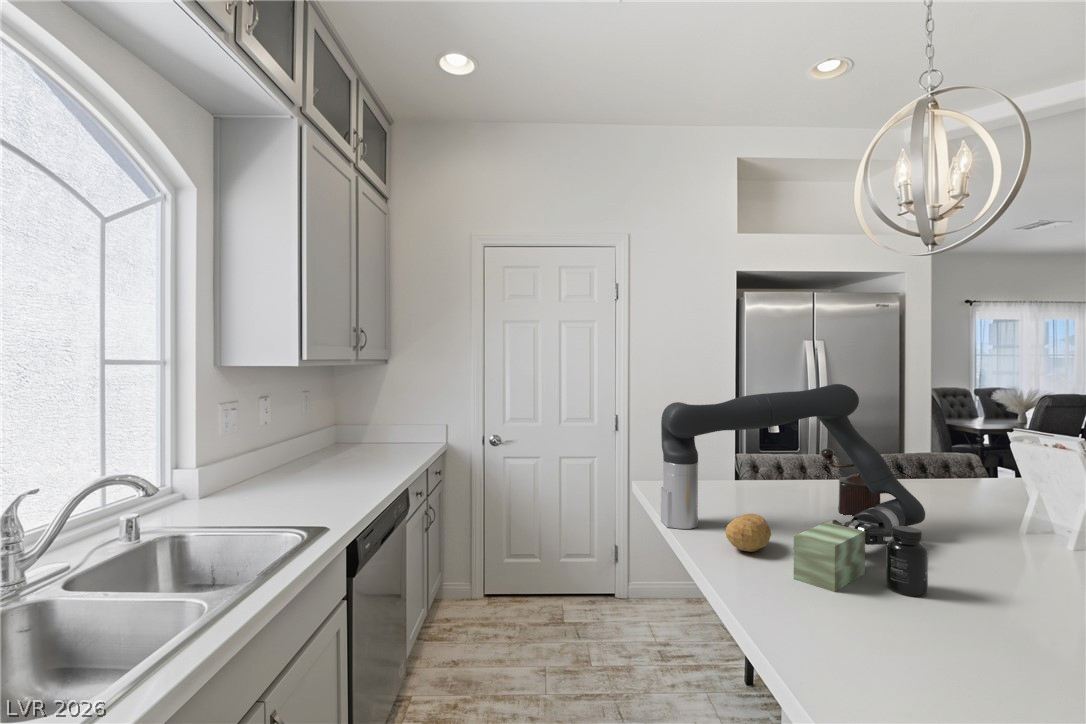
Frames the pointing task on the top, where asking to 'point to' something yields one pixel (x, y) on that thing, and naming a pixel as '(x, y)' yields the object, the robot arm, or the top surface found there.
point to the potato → (748, 532)
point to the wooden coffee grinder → (851, 490)
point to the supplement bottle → (907, 562)
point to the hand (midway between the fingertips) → (844, 539)
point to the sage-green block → (829, 556)
